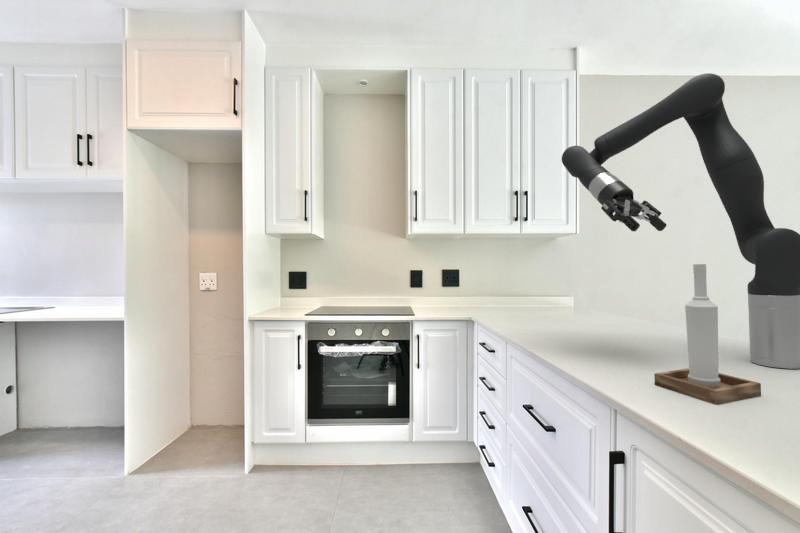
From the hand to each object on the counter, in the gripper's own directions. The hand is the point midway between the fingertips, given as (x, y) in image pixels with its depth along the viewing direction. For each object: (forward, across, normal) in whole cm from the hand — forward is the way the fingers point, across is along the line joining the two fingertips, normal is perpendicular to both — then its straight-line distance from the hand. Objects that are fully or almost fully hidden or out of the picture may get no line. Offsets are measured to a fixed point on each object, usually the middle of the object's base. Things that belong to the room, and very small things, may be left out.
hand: (650, 228), depth 90 cm
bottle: (+34, -5, +14) cm, 37 cm away
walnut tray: (+35, -5, +14) cm, 38 cm away
